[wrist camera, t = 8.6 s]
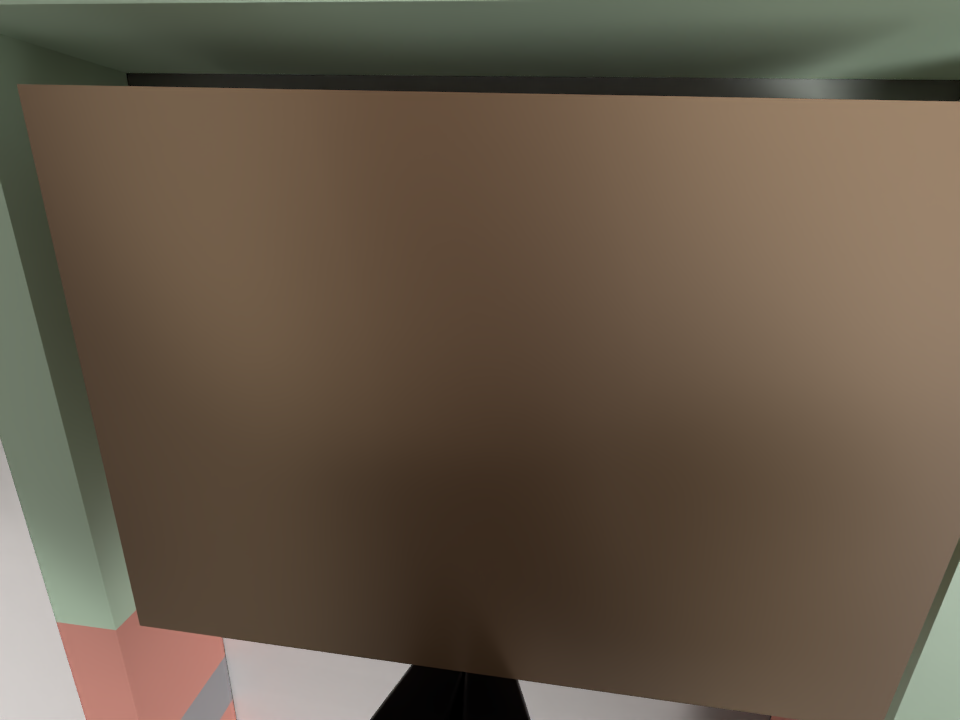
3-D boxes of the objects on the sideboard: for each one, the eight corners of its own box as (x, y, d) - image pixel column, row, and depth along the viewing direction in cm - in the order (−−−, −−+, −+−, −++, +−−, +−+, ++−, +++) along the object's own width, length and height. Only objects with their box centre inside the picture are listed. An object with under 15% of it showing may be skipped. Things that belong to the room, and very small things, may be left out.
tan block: (844, 153, 8) (1138, 104, 4) (749, 528, 10) (879, 730, 6) (245, 135, 9) (16, 84, 5) (279, 478, 11) (139, 625, 7)
